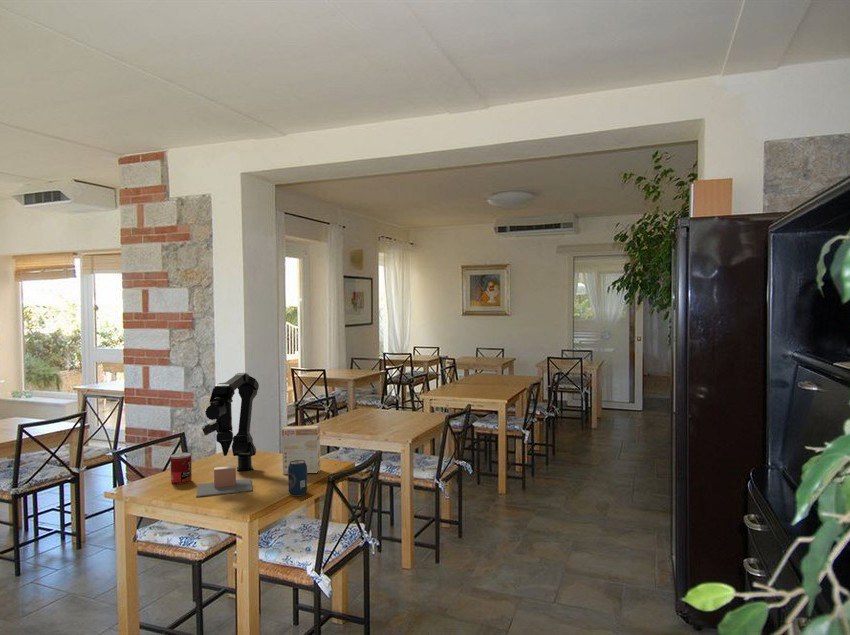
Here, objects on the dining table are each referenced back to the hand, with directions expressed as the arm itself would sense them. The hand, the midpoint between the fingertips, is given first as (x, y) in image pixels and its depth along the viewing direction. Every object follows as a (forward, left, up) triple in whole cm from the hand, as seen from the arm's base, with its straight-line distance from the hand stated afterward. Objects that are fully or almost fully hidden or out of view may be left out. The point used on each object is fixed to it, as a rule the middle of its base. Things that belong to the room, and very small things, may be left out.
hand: (225, 453), depth 228 cm
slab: (+7, 0, -11) cm, 13 cm away
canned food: (-8, -17, -12) cm, 22 cm away
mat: (+9, 0, -12) cm, 15 cm away
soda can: (+27, +26, -12) cm, 40 cm away
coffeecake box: (-3, +31, -12) cm, 33 cm away
